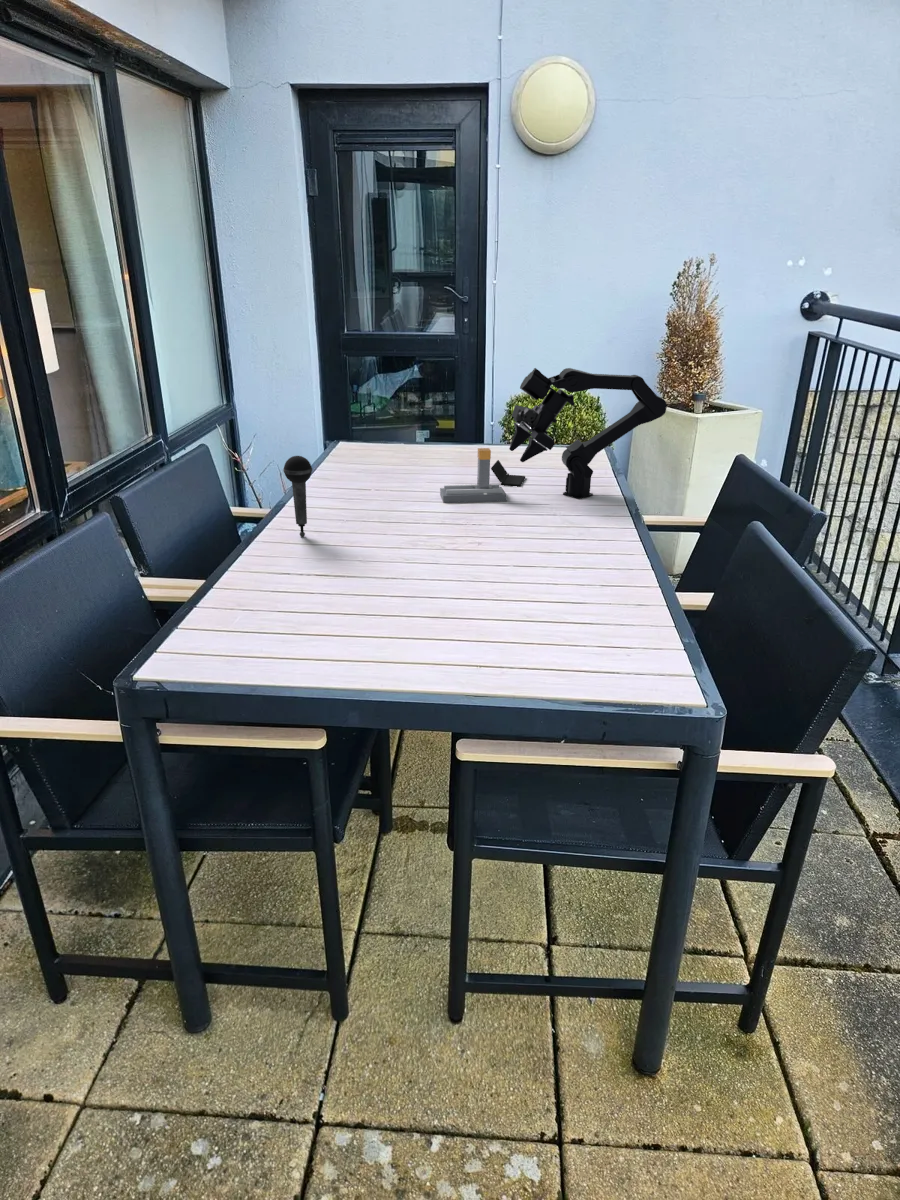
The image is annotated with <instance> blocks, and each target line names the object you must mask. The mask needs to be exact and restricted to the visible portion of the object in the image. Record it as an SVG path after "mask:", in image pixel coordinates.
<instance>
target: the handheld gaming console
mask: <svg viewBox="0 0 900 1200" xmlns="http://www.w3.org/2000/svg"><path fill="white" fill-rule="evenodd" d="M490 469H491V470H490V471H492V473H493V474H494V476H495V477H496V478H497V480H498V481H499V483H500V486H501V485H504V486H503V487H513V486H517V487H516V488H520V487H521V486H522V485H521V484H523V483H524V482H525V480H526V475H519V474H518V475H516V474H510V473H508V472H507V470H506V468H504V466H503V465H502V463H501V462H500V460H499V459H497V460H496V462H494V464H493V465H492V466H490ZM524 479H525V480H524ZM522 482H523V483H522Z"/></svg>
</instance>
